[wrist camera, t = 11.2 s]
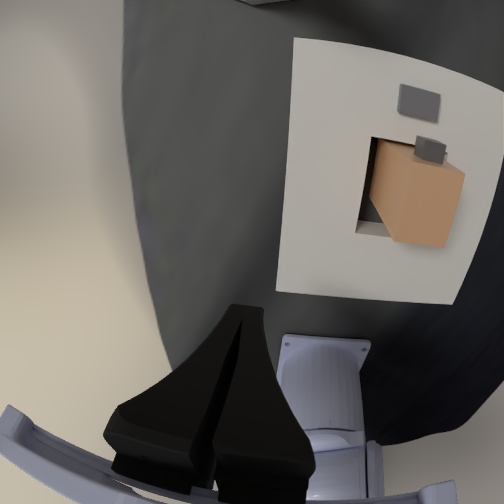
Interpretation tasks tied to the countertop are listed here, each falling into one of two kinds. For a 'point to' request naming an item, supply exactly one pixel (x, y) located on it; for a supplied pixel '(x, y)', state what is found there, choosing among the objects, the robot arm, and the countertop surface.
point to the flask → (260, 1)
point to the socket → (355, 164)
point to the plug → (415, 190)
